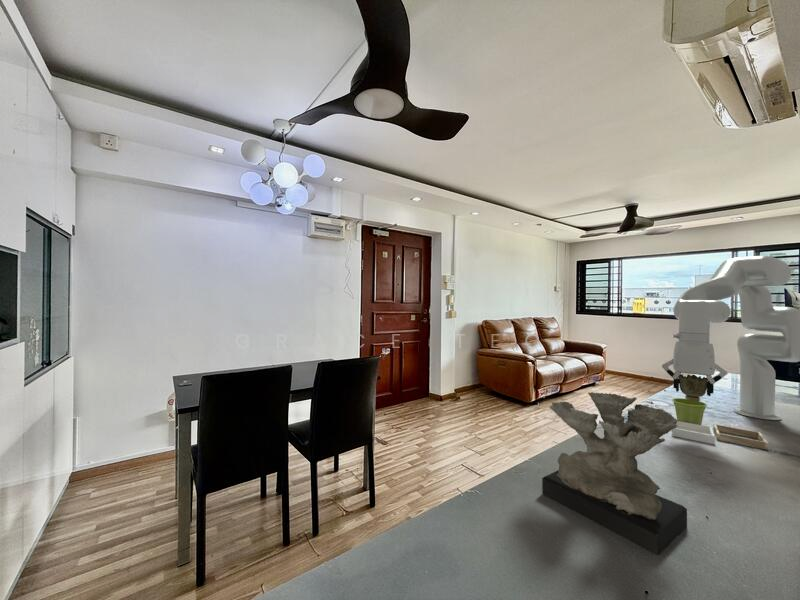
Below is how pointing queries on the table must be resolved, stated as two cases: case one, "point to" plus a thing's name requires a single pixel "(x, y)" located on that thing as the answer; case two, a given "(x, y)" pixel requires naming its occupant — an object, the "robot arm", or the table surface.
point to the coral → (617, 472)
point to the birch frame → (739, 440)
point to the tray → (694, 432)
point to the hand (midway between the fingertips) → (692, 392)
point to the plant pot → (689, 410)
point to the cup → (693, 386)
